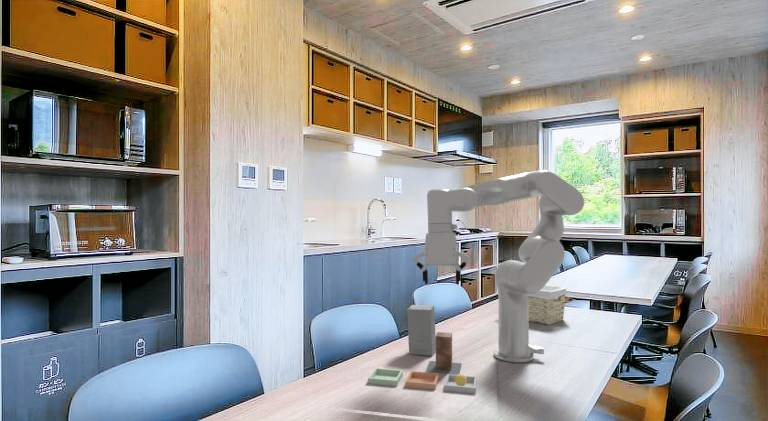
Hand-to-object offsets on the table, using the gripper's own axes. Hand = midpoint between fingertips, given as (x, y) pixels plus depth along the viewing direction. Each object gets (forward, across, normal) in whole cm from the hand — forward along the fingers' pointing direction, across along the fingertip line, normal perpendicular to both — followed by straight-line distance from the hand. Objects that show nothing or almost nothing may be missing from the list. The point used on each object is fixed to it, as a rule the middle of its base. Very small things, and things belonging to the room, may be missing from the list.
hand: (441, 283), depth 139 cm
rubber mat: (+25, 0, +4) cm, 26 cm away
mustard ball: (+23, -6, +18) cm, 30 cm away
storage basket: (+28, -35, -67) cm, 81 cm away
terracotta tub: (+25, +5, +17) cm, 31 cm away
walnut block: (+25, 0, +4) cm, 25 cm away
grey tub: (+25, -6, +18) cm, 31 cm away
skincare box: (+26, +8, -10) cm, 29 cm away
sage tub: (+25, +15, +17) cm, 34 cm away
